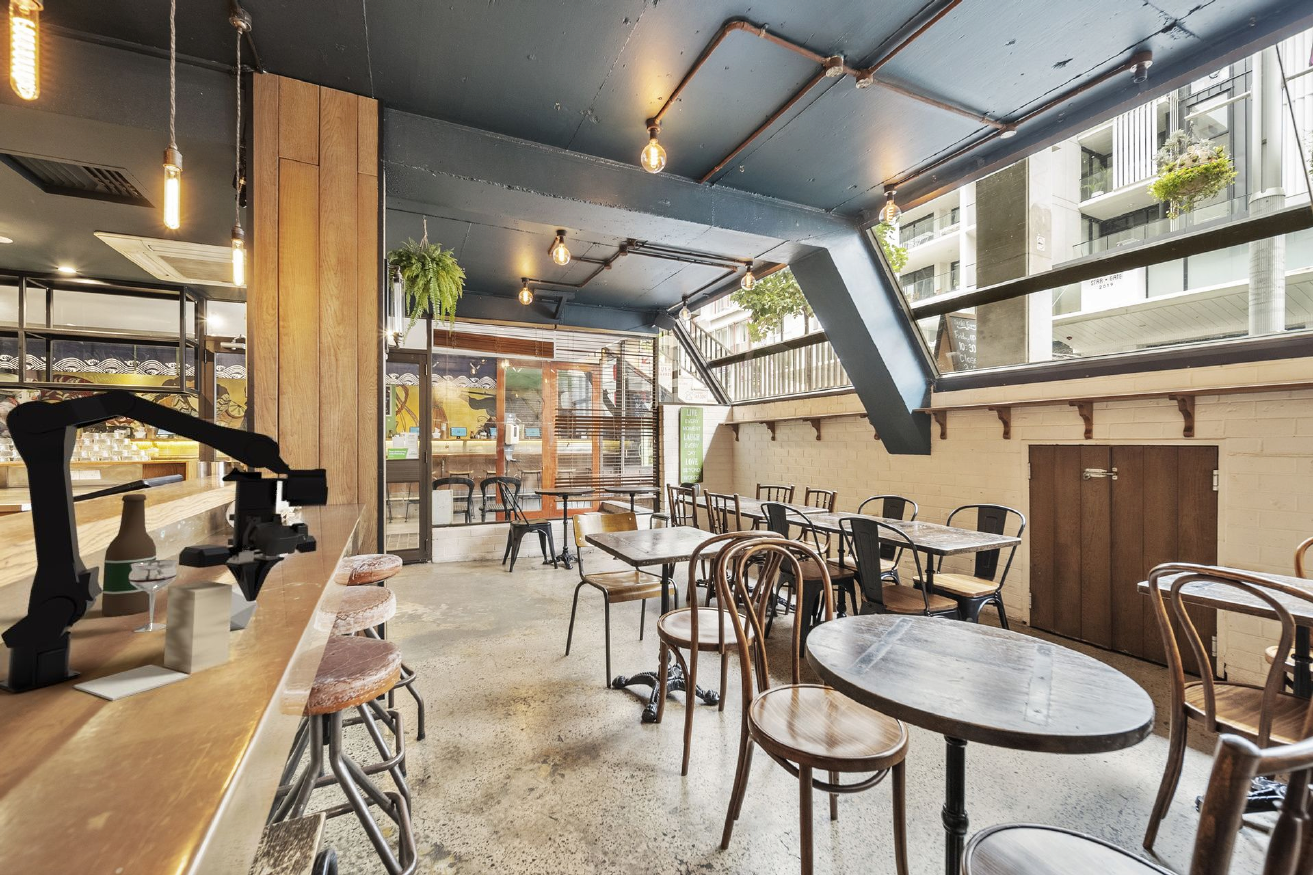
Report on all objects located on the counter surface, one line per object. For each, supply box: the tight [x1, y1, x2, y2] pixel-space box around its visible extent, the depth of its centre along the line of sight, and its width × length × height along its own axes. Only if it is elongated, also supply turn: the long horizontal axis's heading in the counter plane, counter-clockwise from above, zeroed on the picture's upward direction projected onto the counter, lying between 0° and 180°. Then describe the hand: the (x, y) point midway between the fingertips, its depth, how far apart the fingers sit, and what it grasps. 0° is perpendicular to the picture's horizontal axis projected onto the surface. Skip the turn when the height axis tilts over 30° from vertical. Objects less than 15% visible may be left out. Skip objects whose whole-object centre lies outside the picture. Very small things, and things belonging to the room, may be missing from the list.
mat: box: [73, 664, 190, 702], centre depth 77 cm, size 10×8×1 cm
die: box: [230, 584, 259, 631], centre depth 102 cm, size 8×9×10 cm
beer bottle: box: [101, 493, 157, 617], centre depth 112 cm, size 8×8×24 cm
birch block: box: [163, 580, 232, 674], centre depth 84 cm, size 7×5×12 cm
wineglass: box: [129, 559, 179, 633], centre depth 102 cm, size 7×7×12 cm
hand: (250, 600), depth 91 cm, fingers closed
